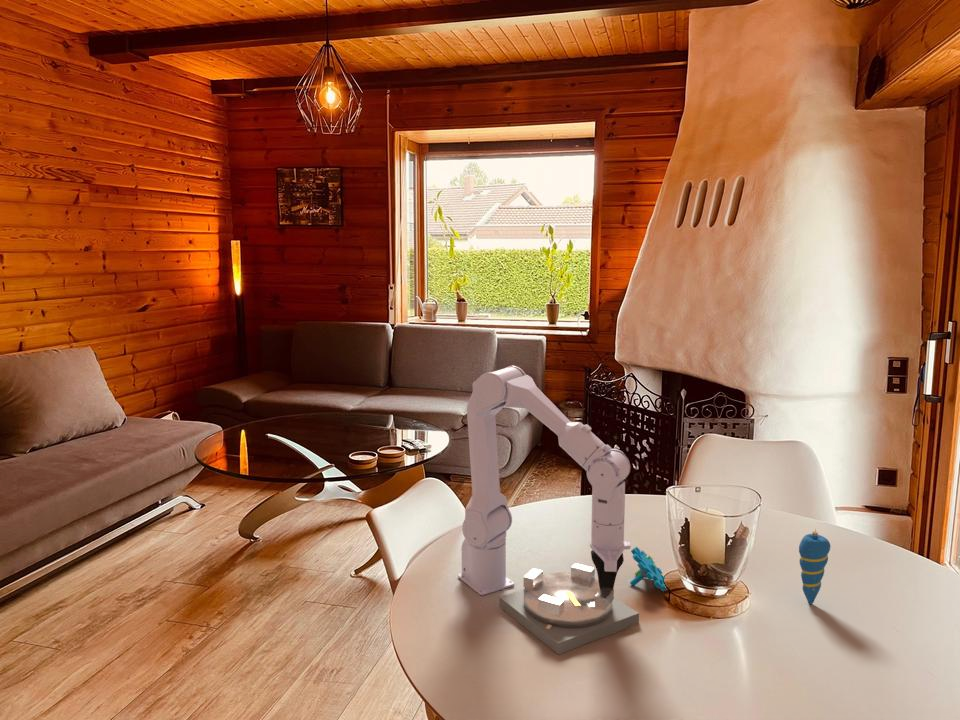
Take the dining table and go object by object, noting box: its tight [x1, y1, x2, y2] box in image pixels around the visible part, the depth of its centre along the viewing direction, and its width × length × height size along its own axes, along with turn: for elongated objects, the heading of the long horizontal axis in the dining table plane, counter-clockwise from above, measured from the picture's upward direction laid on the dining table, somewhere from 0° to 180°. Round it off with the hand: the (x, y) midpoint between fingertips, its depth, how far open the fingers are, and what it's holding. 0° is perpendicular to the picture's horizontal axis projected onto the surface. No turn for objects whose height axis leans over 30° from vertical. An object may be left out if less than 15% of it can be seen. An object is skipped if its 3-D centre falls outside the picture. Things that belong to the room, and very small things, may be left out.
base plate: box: [498, 588, 640, 655], centre depth 125 cm, size 18×18×2 cm
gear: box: [629, 546, 666, 592], centre depth 136 cm, size 11×6×10 cm
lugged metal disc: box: [523, 562, 615, 627], centre depth 125 cm, size 16×16×4 cm
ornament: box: [798, 528, 831, 605], centre depth 127 cm, size 5×5×15 cm
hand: (606, 590), depth 123 cm, fingers closed, pressing on lugged metal disc
